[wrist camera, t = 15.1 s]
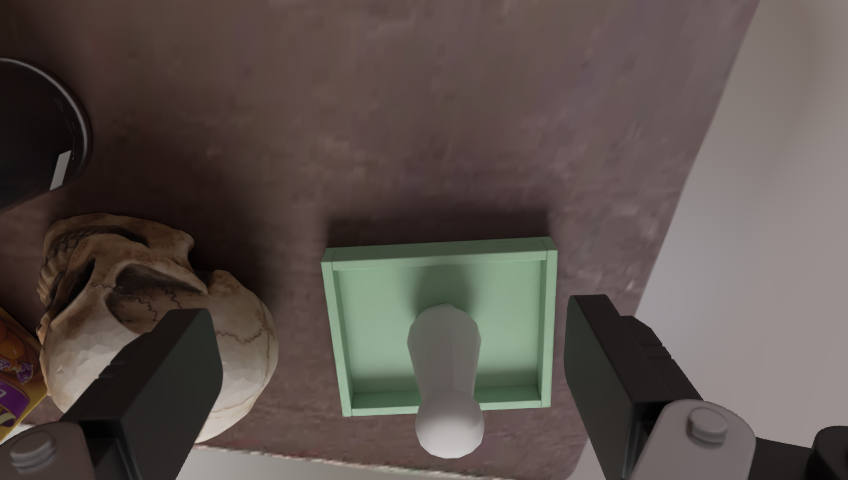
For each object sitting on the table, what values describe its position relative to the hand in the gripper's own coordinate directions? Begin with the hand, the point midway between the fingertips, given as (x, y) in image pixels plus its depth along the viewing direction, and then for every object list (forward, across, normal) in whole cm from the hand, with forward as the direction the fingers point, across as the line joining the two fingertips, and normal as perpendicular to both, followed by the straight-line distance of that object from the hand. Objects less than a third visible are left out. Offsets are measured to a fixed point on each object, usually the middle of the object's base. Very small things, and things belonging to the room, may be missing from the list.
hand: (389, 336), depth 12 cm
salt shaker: (+28, -2, +17) cm, 33 cm away
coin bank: (+29, +20, +14) cm, 38 cm away
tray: (+28, -2, +17) cm, 33 cm away
